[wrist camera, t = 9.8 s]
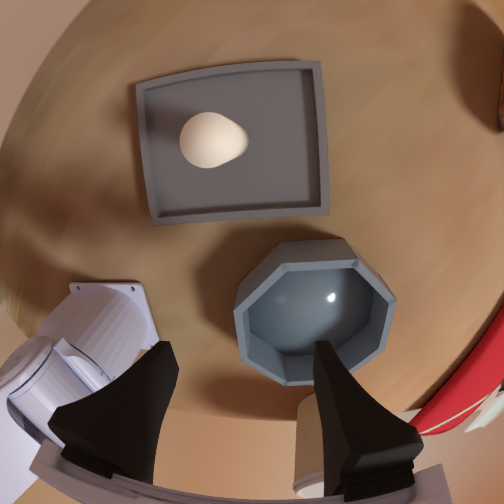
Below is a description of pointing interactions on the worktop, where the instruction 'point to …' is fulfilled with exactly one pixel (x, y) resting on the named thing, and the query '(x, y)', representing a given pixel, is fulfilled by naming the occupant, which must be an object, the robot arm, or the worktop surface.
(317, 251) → the blue-grey octagonal bowl
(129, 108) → the worktop surface
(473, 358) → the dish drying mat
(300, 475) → the coffee cup
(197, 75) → the tray
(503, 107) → the tin
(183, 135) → the dowel pin
